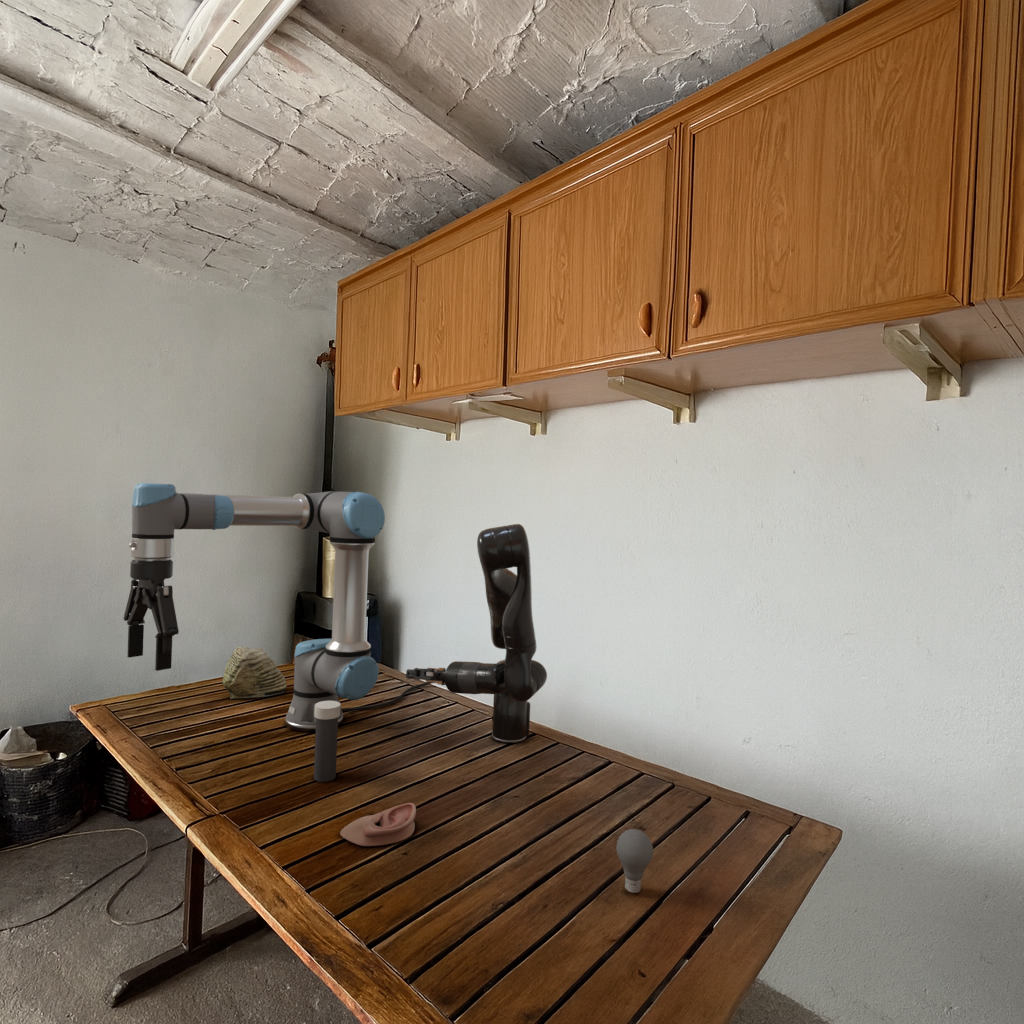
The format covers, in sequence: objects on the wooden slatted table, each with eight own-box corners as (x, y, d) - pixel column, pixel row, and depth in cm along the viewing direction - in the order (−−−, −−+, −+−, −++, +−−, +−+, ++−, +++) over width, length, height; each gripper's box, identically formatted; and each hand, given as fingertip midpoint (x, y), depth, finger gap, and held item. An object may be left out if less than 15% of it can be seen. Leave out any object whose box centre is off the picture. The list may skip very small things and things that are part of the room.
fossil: (218, 695, 195) (220, 647, 195) (278, 685, 208) (279, 640, 207) (228, 703, 189) (230, 653, 188) (289, 692, 201) (290, 645, 201)
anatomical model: (332, 820, 116) (360, 792, 128) (332, 841, 116) (359, 811, 128) (400, 830, 114) (422, 801, 125) (400, 852, 114) (421, 821, 125)
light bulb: (610, 879, 108) (613, 822, 108) (644, 879, 109) (647, 822, 109) (619, 902, 102) (622, 840, 102) (655, 901, 103) (658, 840, 103)
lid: (330, 709, 147) (330, 699, 147) (345, 715, 143) (345, 704, 143) (309, 715, 142) (309, 704, 142) (324, 721, 139) (324, 710, 139)
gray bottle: (327, 770, 146) (330, 701, 146) (340, 777, 143) (342, 706, 143) (309, 777, 143) (312, 706, 142) (322, 783, 140) (324, 711, 139)
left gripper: (108, 554, 134) (104, 654, 134) (159, 565, 118) (155, 678, 119) (146, 552, 140) (143, 648, 140) (199, 563, 124) (195, 671, 124)
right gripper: (487, 665, 159) (438, 663, 168) (451, 658, 148) (401, 657, 157) (484, 695, 157) (434, 692, 166) (448, 691, 146) (397, 688, 155)
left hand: (148, 662), depth 129 cm, fingers open, 13 cm apart
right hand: (418, 675), depth 161 cm, fingers open, 8 cm apart
